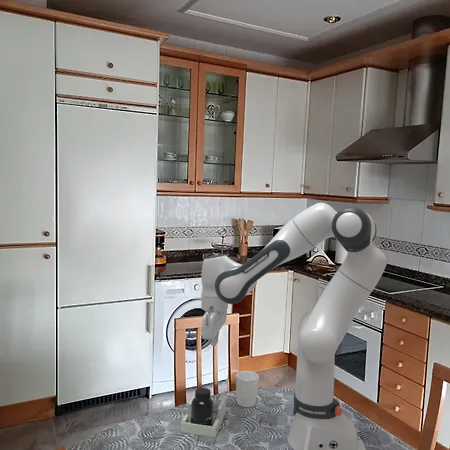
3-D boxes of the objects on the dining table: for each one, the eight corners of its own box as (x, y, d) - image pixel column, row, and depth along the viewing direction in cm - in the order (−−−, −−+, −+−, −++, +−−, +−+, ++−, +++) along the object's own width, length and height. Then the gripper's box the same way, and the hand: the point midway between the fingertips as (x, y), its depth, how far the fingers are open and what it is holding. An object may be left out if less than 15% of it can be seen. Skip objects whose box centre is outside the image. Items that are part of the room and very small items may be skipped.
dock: (218, 428, 136) (219, 419, 135) (215, 437, 131) (215, 427, 131) (185, 423, 138) (185, 414, 138) (180, 431, 133) (180, 422, 133)
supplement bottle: (210, 435, 132) (212, 397, 131) (188, 432, 133) (189, 395, 132) (213, 423, 139) (214, 387, 138) (192, 421, 140) (193, 385, 139)
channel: (225, 412, 146) (226, 396, 145) (220, 425, 138) (220, 408, 137) (194, 407, 148) (195, 392, 148) (187, 420, 140) (187, 404, 140)
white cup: (254, 410, 148) (255, 381, 147) (232, 406, 150) (233, 378, 150) (259, 399, 156) (260, 372, 155) (238, 396, 158) (239, 369, 157)
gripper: (216, 312, 132) (216, 356, 133) (230, 296, 152) (229, 335, 153) (196, 310, 133) (196, 354, 134) (212, 295, 153) (212, 334, 154)
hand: (214, 344), depth 144 cm, fingers closed
